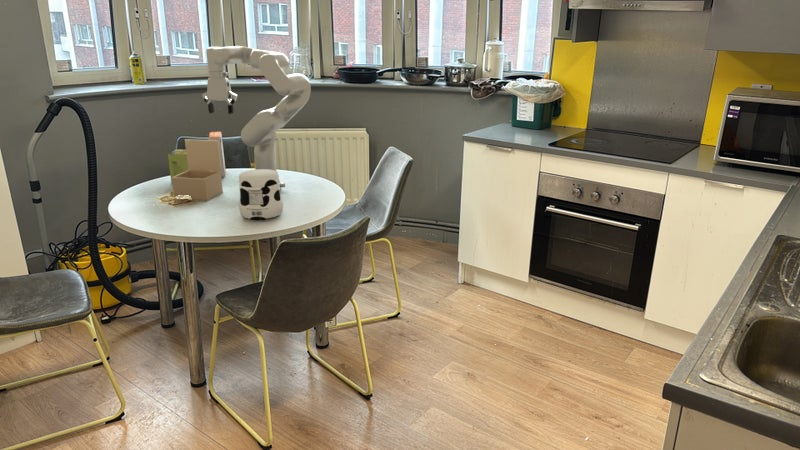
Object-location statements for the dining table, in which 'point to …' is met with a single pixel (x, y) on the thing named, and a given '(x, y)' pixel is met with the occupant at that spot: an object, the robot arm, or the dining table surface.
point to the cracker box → (218, 137)
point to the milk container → (260, 195)
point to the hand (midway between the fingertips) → (221, 113)
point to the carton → (198, 184)
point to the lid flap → (203, 155)
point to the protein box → (177, 162)
